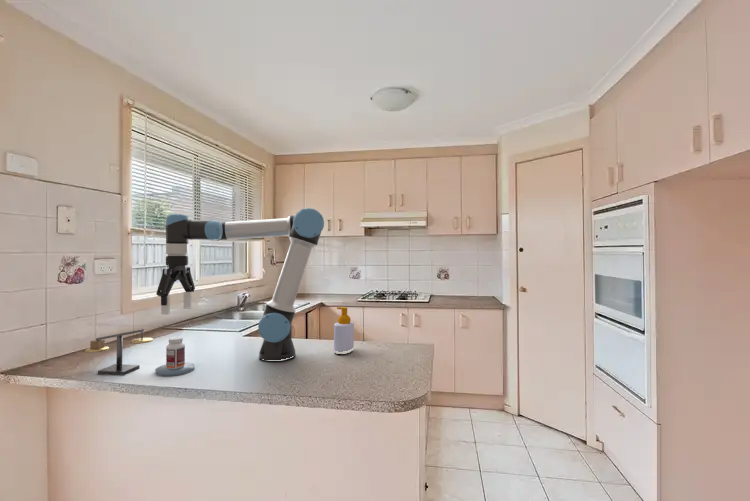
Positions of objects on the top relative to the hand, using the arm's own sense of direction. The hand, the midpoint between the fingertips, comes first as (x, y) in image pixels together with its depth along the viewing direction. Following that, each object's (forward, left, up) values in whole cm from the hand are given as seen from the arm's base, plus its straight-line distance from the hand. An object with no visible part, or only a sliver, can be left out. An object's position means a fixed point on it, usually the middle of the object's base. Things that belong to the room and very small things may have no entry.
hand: (176, 311), depth 140 cm
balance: (+20, +3, -22) cm, 30 cm away
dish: (0, 0, -22) cm, 22 cm away
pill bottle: (0, 0, -21) cm, 21 cm away
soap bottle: (-59, -34, -23) cm, 72 cm away
